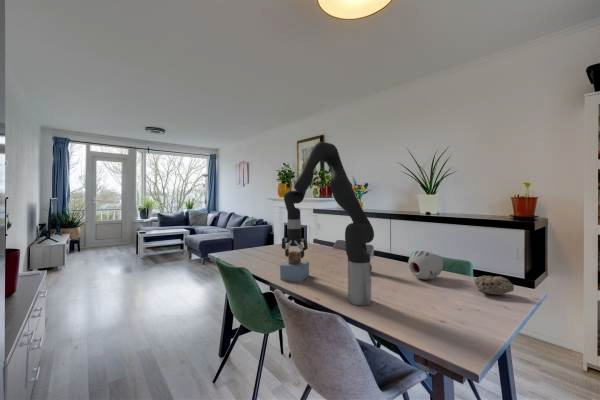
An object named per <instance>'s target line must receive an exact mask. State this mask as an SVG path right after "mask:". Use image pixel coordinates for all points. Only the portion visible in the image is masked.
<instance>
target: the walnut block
mask: <svg viewBox="0 0 600 400" xmlns="http://www.w3.org/2000/svg"><path fill="white" fill-rule="evenodd" d="M301 259H302V258H301V251H297V250H295V251H294V250H292V251H289V253H288V260H289V264H294V265H298V264H299V263H301V261H302V260H301Z"/></svg>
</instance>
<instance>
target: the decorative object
mask: <svg viewBox="0 0 600 400" xmlns="http://www.w3.org/2000/svg"><path fill="white" fill-rule="evenodd" d="M408 267H409V270H410V272H411V273H412V275H414V276H415V277H417V278H419V279H420V280H432V279H434V278H437V277H438V276H439V275H441V273H442V271H443V269H444V268H445V264H444V260H443V258H442V256H441V255H438V254H436V253H434V252H433V253H432V252H429V251H426V250H416V251H414V252H413V253H412V254H410V257H409V258H408Z"/></svg>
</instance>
